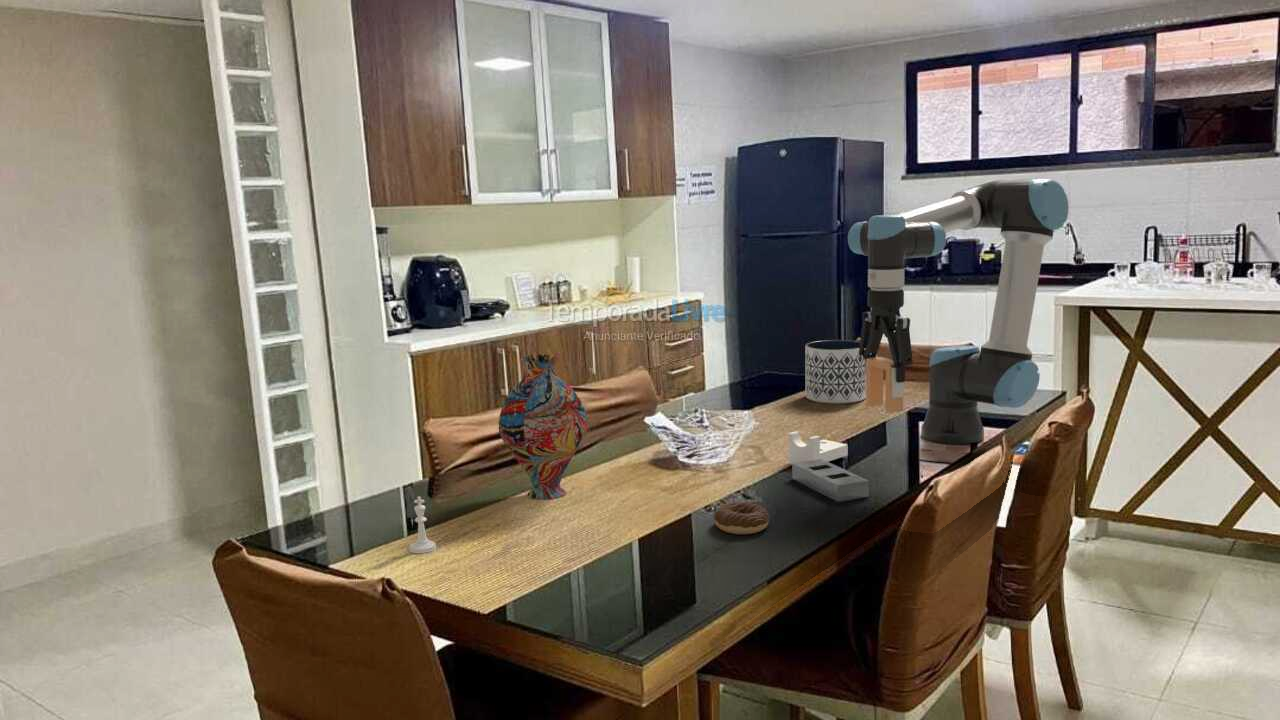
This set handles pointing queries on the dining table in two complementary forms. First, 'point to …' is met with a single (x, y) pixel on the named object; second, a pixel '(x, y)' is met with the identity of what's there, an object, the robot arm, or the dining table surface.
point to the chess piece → (421, 532)
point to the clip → (880, 384)
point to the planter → (834, 372)
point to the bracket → (814, 449)
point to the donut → (741, 518)
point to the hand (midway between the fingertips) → (884, 392)
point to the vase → (543, 425)
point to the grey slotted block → (830, 480)
